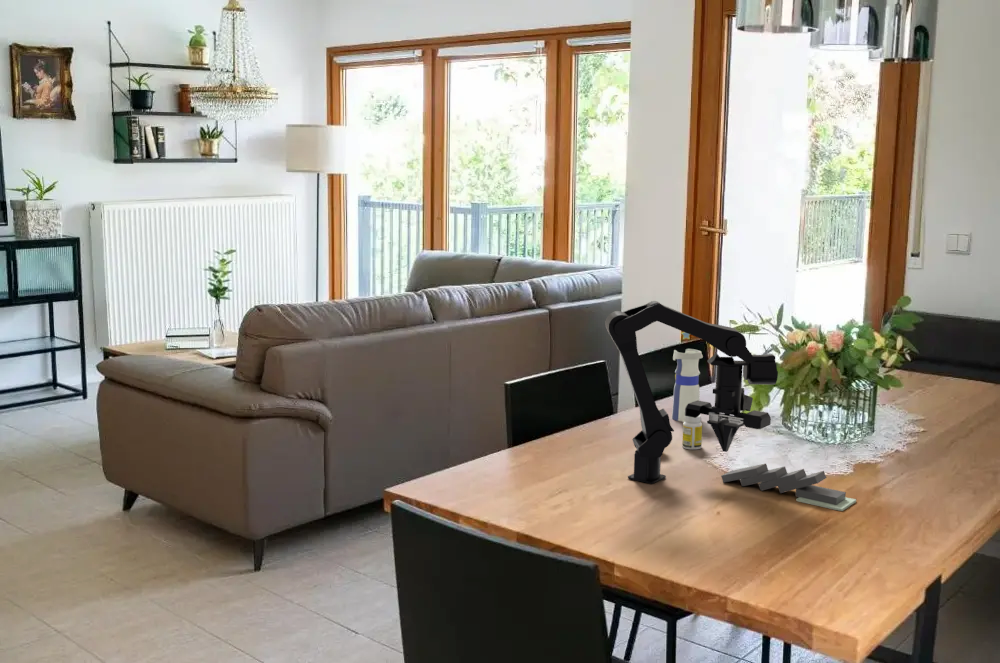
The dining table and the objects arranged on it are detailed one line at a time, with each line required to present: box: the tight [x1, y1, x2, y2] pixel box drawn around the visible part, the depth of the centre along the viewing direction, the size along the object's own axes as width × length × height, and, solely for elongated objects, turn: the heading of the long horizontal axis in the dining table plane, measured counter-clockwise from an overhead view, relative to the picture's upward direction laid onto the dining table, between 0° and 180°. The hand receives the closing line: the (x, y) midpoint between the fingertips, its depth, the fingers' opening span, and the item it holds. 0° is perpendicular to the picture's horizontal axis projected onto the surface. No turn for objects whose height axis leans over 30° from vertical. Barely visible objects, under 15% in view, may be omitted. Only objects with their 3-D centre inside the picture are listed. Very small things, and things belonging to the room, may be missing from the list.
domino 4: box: [777, 470, 827, 494], centre depth 226 cm, size 2×5×9 cm
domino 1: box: [720, 463, 769, 483], centre depth 234 cm, size 2×5×9 cm
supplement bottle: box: [682, 414, 703, 451], centre depth 262 cm, size 5×5×8 cm
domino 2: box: [739, 466, 788, 487], centre depth 231 cm, size 2×5×9 cm
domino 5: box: [795, 484, 847, 505], centre depth 223 cm, size 2×5×9 cm
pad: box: [796, 496, 857, 512], centre depth 223 cm, size 8×10×1 cm
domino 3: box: [758, 468, 807, 492], centre depth 228 cm, size 2×5×9 cm
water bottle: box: [671, 331, 704, 423], centre depth 290 cm, size 8×8×25 cm
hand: (725, 451), depth 236 cm, fingers closed
